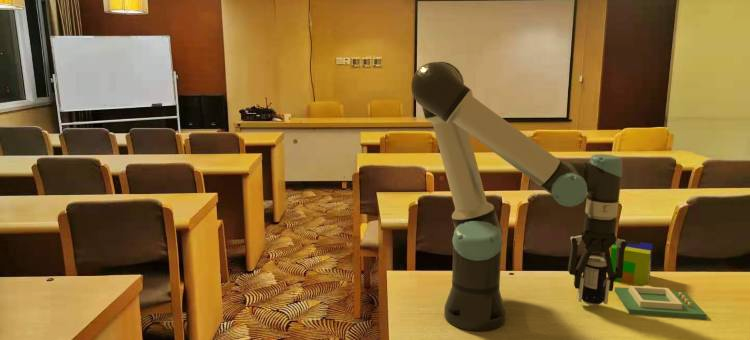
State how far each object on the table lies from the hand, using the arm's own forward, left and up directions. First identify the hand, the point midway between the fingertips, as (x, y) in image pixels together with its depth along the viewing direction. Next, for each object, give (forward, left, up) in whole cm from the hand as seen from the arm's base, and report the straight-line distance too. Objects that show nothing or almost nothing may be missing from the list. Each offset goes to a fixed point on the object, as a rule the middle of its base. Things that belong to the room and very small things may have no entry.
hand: (591, 300), depth 140 cm
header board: (+18, +4, -2) cm, 18 cm away
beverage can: (0, 0, -1) cm, 1 cm away
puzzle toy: (+16, +22, -2) cm, 27 cm away
